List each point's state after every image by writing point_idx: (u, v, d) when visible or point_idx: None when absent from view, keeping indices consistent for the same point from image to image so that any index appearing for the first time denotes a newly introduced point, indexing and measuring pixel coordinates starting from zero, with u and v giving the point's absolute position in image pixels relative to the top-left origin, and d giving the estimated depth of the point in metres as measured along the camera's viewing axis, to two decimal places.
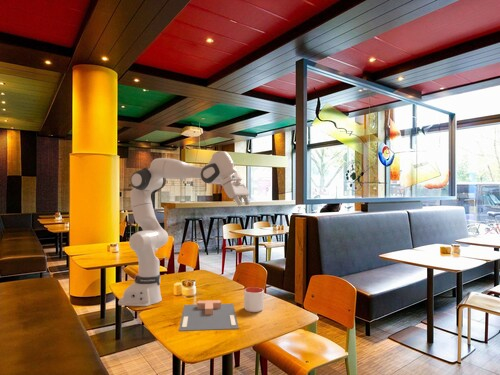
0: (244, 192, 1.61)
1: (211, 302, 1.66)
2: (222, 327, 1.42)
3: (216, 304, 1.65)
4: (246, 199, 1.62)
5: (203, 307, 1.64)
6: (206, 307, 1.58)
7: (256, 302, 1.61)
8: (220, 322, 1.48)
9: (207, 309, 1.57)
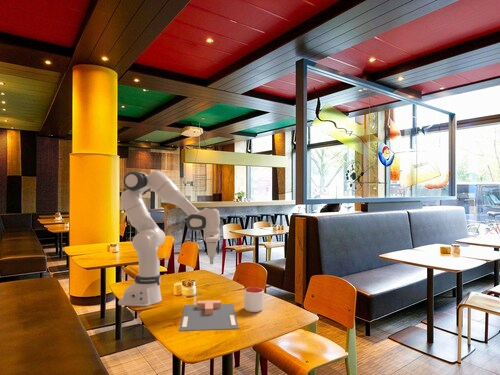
0: None
1: (211, 302, 1.66)
2: (222, 327, 1.42)
3: (216, 304, 1.65)
4: None
5: (203, 307, 1.64)
6: (206, 307, 1.58)
7: (256, 302, 1.61)
8: (220, 322, 1.48)
9: (207, 309, 1.57)
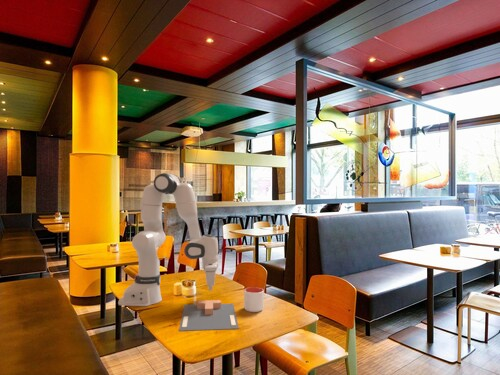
0: None
1: (211, 302, 1.66)
2: (222, 327, 1.42)
3: (216, 304, 1.65)
4: None
5: (203, 307, 1.64)
6: (206, 307, 1.58)
7: (256, 302, 1.61)
8: (220, 322, 1.48)
9: (207, 309, 1.57)
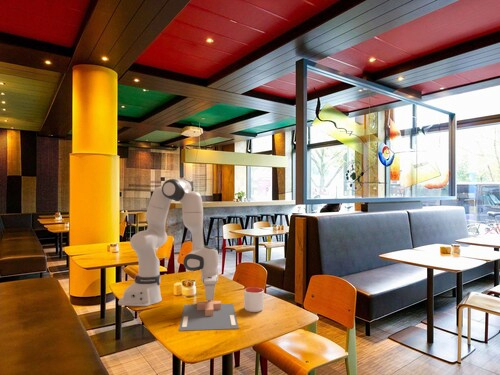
0: None
1: (211, 303, 1.64)
2: (222, 327, 1.42)
3: (216, 305, 1.64)
4: None
5: (203, 308, 1.63)
6: (206, 308, 1.57)
7: (256, 302, 1.61)
8: (220, 322, 1.48)
9: (208, 310, 1.55)
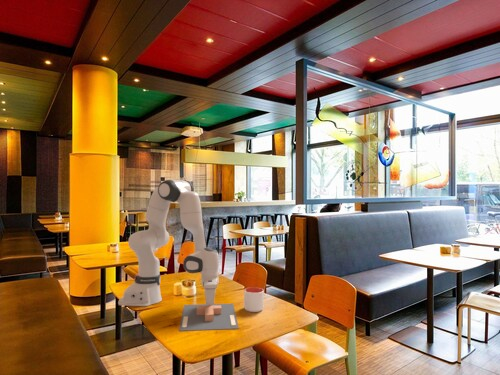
0: None
1: (211, 307, 1.58)
2: (222, 327, 1.42)
3: (216, 309, 1.58)
4: None
5: (203, 313, 1.57)
6: (206, 313, 1.51)
7: (256, 302, 1.61)
8: (220, 322, 1.48)
9: (208, 315, 1.49)
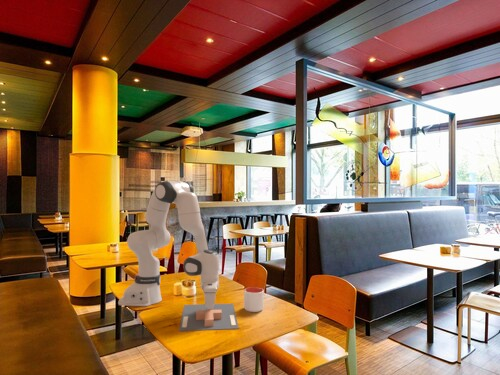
0: None
1: (211, 312, 1.52)
2: (222, 327, 1.42)
3: (216, 314, 1.52)
4: None
5: (202, 317, 1.51)
6: (206, 318, 1.45)
7: (256, 302, 1.61)
8: (220, 322, 1.48)
9: (207, 320, 1.43)
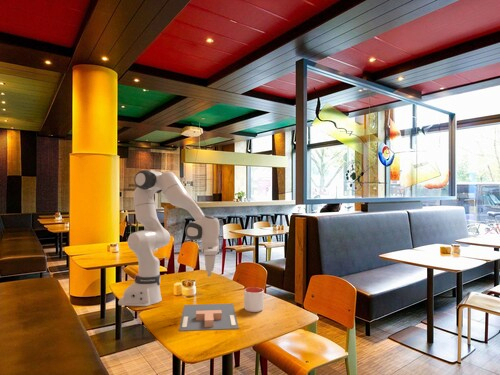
0: None
1: (211, 312, 1.51)
2: (222, 327, 1.42)
3: (216, 314, 1.51)
4: None
5: (202, 318, 1.50)
6: (206, 318, 1.44)
7: (256, 302, 1.61)
8: (220, 322, 1.48)
9: (207, 321, 1.42)
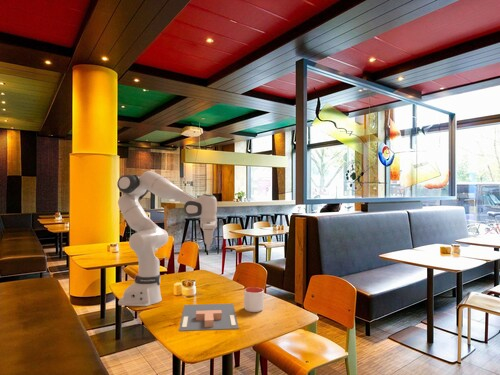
0: None
1: (211, 312, 1.51)
2: (222, 327, 1.42)
3: (216, 314, 1.51)
4: None
5: (202, 318, 1.50)
6: (206, 318, 1.44)
7: (256, 302, 1.61)
8: (220, 322, 1.48)
9: (207, 321, 1.42)
